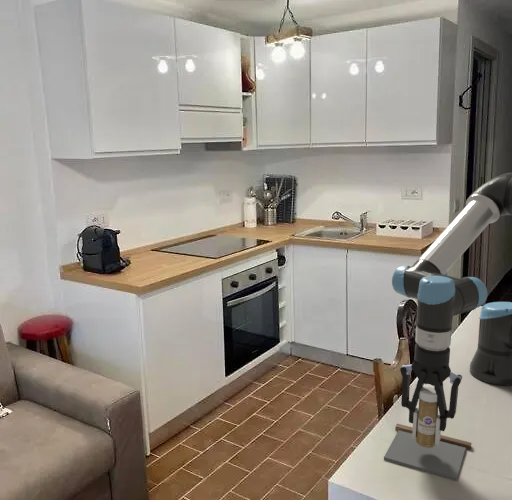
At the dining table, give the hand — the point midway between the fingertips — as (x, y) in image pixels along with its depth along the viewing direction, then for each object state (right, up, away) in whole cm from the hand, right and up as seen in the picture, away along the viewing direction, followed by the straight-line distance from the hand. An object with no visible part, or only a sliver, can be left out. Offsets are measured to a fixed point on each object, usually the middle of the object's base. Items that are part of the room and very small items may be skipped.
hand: (426, 438), depth 122 cm
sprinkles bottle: (0, -1, 0) cm, 1 cm away
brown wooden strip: (+4, -3, +8) cm, 9 cm away
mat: (0, -4, +1) cm, 4 cm away
